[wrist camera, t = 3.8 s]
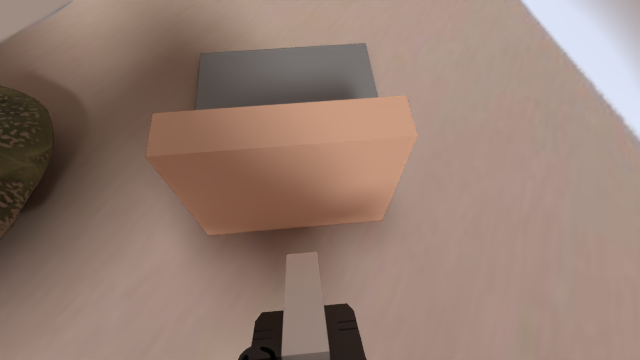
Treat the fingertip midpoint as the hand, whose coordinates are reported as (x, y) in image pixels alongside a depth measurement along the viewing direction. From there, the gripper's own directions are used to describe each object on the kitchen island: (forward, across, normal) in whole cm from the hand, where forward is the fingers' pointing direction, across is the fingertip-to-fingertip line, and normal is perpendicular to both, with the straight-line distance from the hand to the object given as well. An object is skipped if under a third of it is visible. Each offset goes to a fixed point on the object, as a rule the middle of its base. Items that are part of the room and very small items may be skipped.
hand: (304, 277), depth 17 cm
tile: (+8, 0, 0) cm, 8 cm away
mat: (+14, 0, +7) cm, 16 cm away
